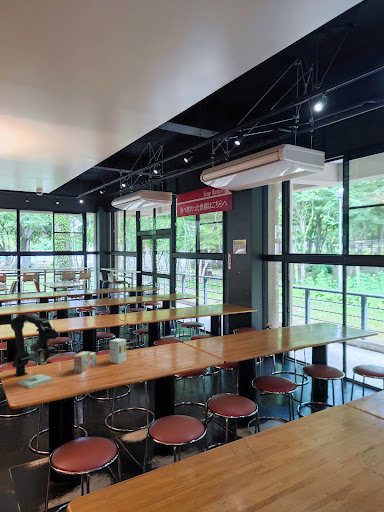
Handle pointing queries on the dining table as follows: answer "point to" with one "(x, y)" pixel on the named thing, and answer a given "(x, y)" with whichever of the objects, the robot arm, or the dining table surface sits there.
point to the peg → (42, 359)
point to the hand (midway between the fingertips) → (43, 361)
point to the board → (35, 380)
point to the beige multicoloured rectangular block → (84, 361)
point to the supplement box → (118, 350)
